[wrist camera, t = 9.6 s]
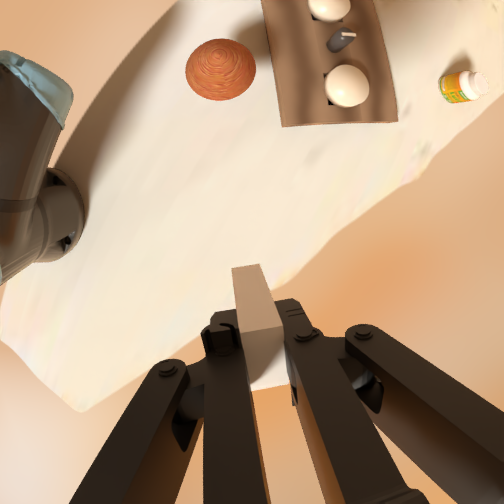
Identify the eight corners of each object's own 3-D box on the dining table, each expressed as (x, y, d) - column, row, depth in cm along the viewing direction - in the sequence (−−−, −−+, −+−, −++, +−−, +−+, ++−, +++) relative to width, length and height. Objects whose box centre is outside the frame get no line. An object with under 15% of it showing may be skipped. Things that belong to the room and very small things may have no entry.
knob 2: (320, 111, 41) (332, 105, 36) (314, 74, 40) (325, 64, 34) (356, 110, 42) (372, 105, 36) (350, 74, 40) (365, 65, 35)
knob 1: (305, 29, 37) (315, 15, 32) (298, -1, 36) (307, -16, 30) (341, 30, 38) (354, 18, 32) (333, 1, 36) (345, -13, 31)
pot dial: (327, 52, 36) (340, 41, 31) (324, 38, 36) (337, 25, 31) (343, 53, 37) (357, 42, 32) (340, 39, 36) (354, 27, 31)
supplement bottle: (436, 97, 42) (471, 91, 33) (437, 72, 41) (471, 62, 32) (456, 107, 43) (491, 103, 34) (457, 83, 42) (491, 76, 32)
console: (281, 127, 42) (286, 125, 39) (259, -8, 35) (261, -17, 32) (388, 122, 43) (398, 121, 40) (362, -3, 36) (369, -10, 33)
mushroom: (195, 63, 38) (184, 20, 24) (249, 65, 39) (263, 24, 25) (190, 113, 40) (175, 89, 26) (246, 115, 41) (258, 93, 27)
